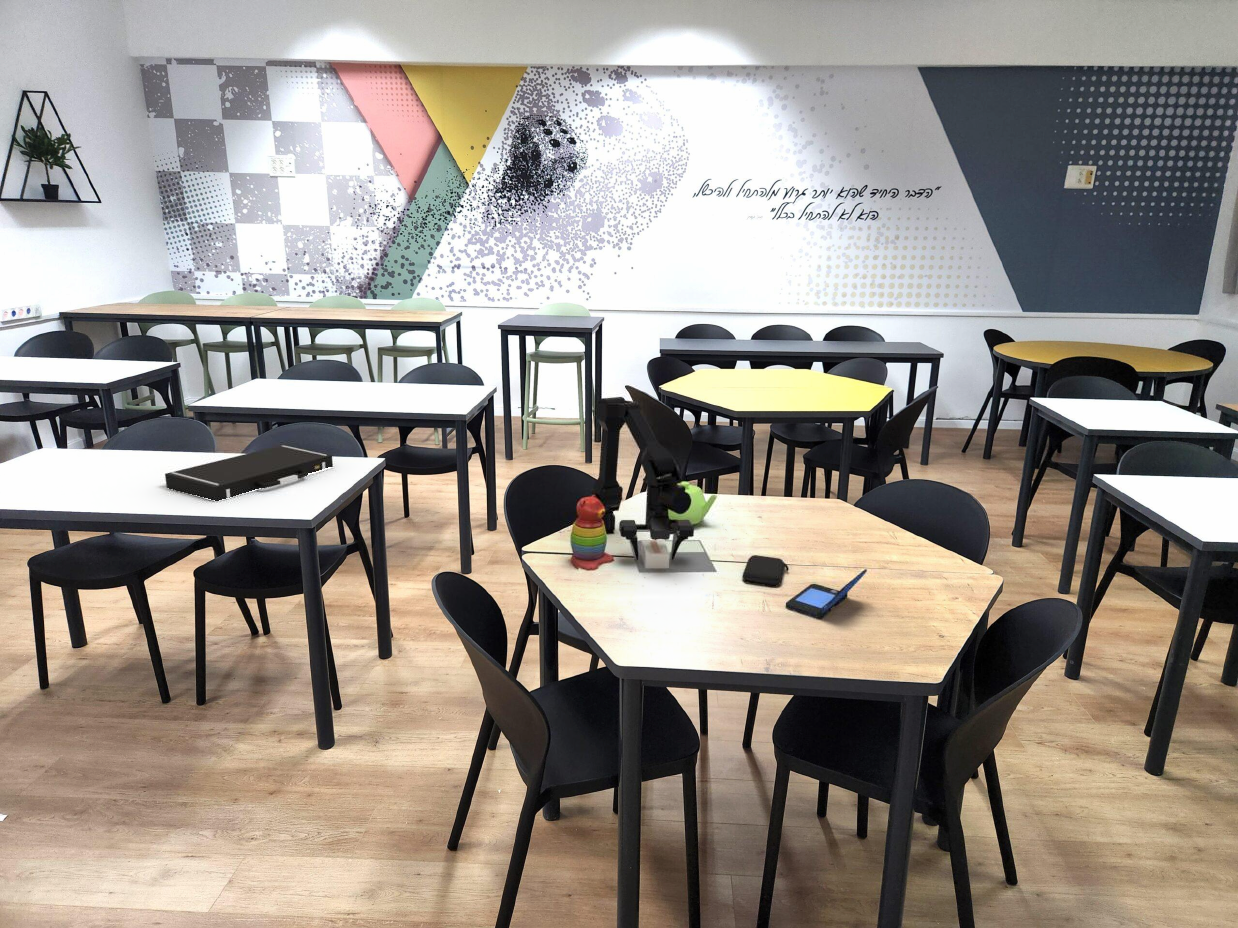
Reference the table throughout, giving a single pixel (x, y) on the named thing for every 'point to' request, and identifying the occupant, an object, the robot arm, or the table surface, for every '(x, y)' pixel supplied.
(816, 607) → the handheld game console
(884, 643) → the table surface
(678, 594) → the table surface
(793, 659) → the table surface
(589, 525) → the stacking bear
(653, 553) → the box
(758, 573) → the carrying case or bag
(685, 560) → the mat
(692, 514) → the teapot
